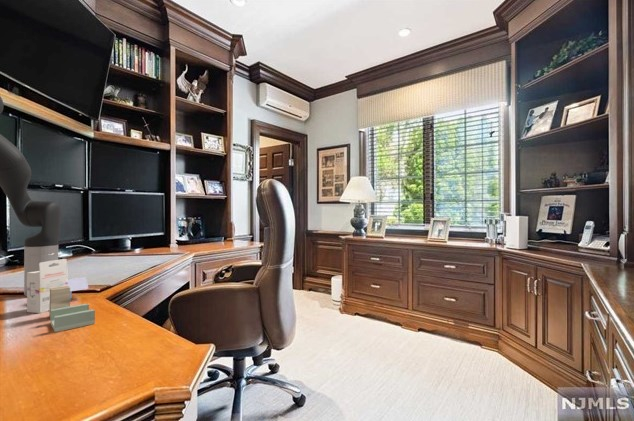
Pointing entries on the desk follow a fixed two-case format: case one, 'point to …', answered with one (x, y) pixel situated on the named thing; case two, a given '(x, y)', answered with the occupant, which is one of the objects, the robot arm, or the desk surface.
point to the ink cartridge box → (45, 284)
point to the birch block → (59, 297)
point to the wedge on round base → (77, 284)
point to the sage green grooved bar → (71, 317)
